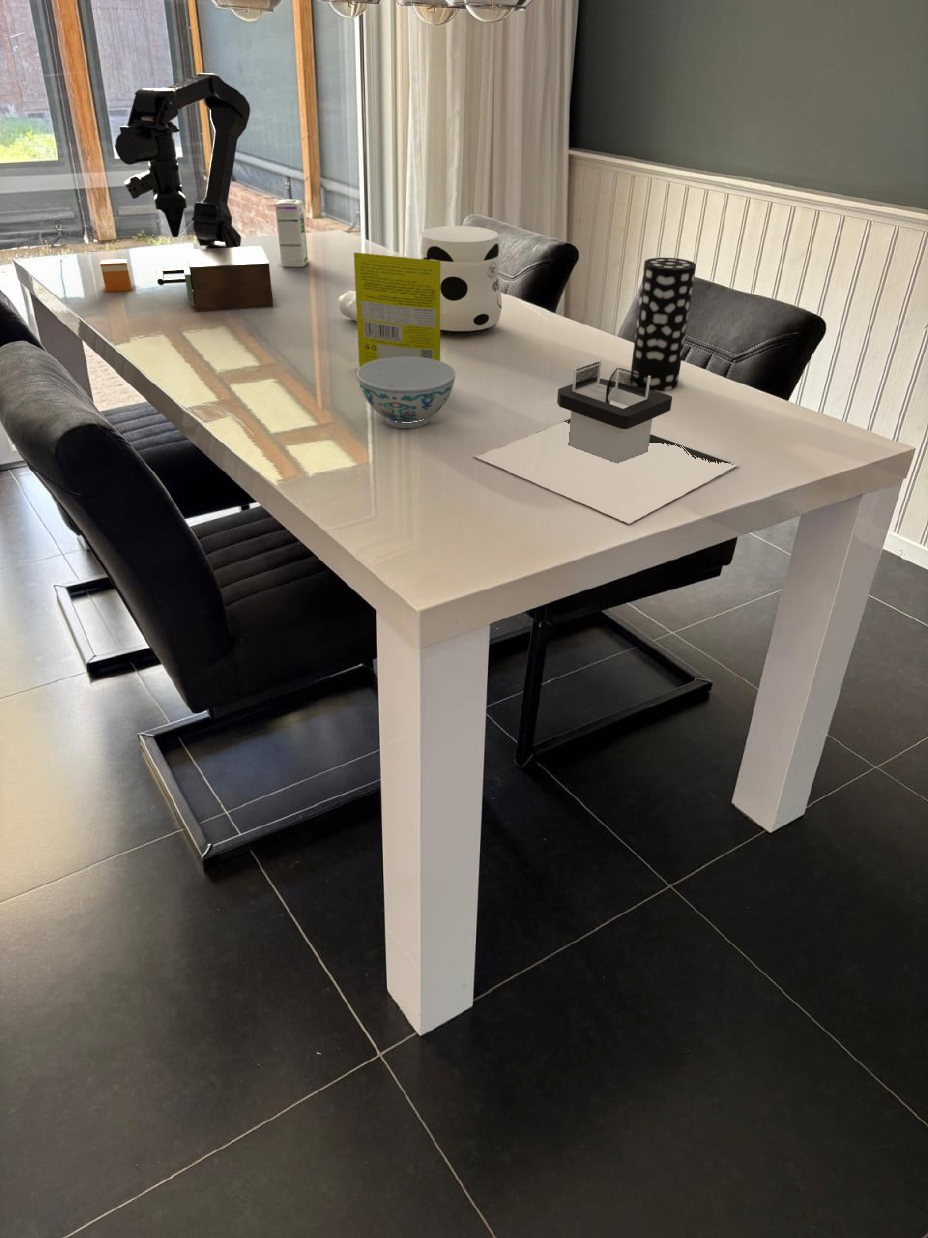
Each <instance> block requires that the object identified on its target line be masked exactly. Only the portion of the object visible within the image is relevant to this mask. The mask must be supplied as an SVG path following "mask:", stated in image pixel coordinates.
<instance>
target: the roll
mask: <svg viewBox="0 0 928 1238" xmlns="http://www.w3.org/2000/svg"><path fill="white" fill-rule="evenodd" d="M337 301H338V303H339V311H340V313H341V314H343V316H345V317H347V318H349V319H351V320H352V321H355V322H356V323H357V308H356V290H349V291H346V292H345V293H344V294H341V295H340V296H339V297H338V300H337Z"/></svg>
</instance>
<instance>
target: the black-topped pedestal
mask: <svg viewBox="0 0 928 1238" xmlns="http://www.w3.org/2000/svg"><path fill="white" fill-rule="evenodd" d="M602 363H603V361H602V360H599V361H597V362H594V363H591V364H588V365H585V366H582V367H578V368H576V367H575V368H573V369H574V370H573V377H572V378H573V381H572V383H571V384H568V385H565V386H562V387H560V388H558V389H557V396H556V397H557V399H556V403H557V406H558V407H559V408H562V409H565V410H567V411H570V418H568V419H566V420H563V421H564V422H567V421H568V422H567V423H568V424H569V423H570V432H569V443H568V445H569V446H572V447H574V448H576V449H579V450H582V451H584V452H587V453H590V454H592V455H595V456H598V457H601V458H603V459H606V460H609V461H610V462H614V463H617V464H618V463H620V462H623V461H626V460H628V459H631V458H634V457H636V456H639V455H642V454H644V453H646V452H648V446H649V443H662V444H664V443H666V444H667V445H668V444H670V445H675V444H676V445H677V446H678V447H680V446H681V447H682V446H683V447H684V448H685V449H686V450H687V451H688V452H689V453H690V454H691V455H692V457H694V458H695V459H696V457H697V458H698V457H699V458H701V459H702V460H704V459H705V461H706V459H707V460H708V462H709V461H710V462H715V463H716V461H717V463H718V464H719V462H720V463H721V462H724V463H729V464H730V463H731V462H730V461H727V460H724V459H721V458H719V457H716V456H713V455H710V454H707V453H704V452H702V451H699V450H697V449H693V448H691V447H687V446H685V445H682V444H679V443H677V442H673V441H672V440H671V441H670V440H668V439H666V438H662V437H660V436H657V435H654V434H652V433H651V432H652V426H653V425H652V424H653V419H655V418H657V417H660V416H661V415H664V414H666V413H669V412H670V411H671V409H672V402H673V396H672V395H670V394H666V393H664V392H662V391H653V390H649V385H650V378H651V376H644V375H641V374H638V373H635V372H631V370H628V369H625V368H622V367H621V366H620V365H619V366H617V368H616V369H615V370H614V371H613V372H612V374H611V375H610V377H609V379H606V378H602V377H601V373H602ZM631 373H634V374H635V375H636V377H634V376H632V375H631ZM638 375H640V376H641V377H642V378H643V379H642V380H641V379H640V378H639V377H638ZM631 376H632V377H633V379H634V380H635V382H636V384H637V385H638V387H637V386H636V385H635V383H634V381H633V379H632V378H631ZM644 377H646V378H647V379H648V380H645V379H644ZM635 378H636V379H635ZM637 378H639V380H640V381H641V383H642V385H643V387H644V388H643V387H642V386H641V384H640V382H639V380H638V379H637ZM630 379H631V380H630ZM636 380H637V381H636ZM644 380H645V381H646V383H647V385H646V384H645V382H644ZM642 381H643V382H642ZM643 383H644V384H643ZM633 384H634V385H633ZM639 385H640V386H639ZM640 387H641V388H640ZM611 401H612V402H615V403H618V404H621V405H624V406H626V407H624V408H622V407H620V406H616V405H614V404H611V403H610V402H611ZM676 445H675V446H676ZM668 446H669V445H668ZM681 447H680V448H681ZM683 447H682V448H683ZM684 448H683V449H684ZM685 449H684V451H686V450H685ZM687 451H686V453H687ZM687 454H688V453H687ZM688 455H689V454H688ZM694 455H695V456H696V457H695V456H694ZM703 458H704V459H703ZM710 462H709V463H710ZM733 464H734V463H733ZM733 464H732V465H733Z"/></svg>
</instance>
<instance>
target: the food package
mask: <svg viewBox="0 0 928 1238" xmlns="http://www.w3.org/2000/svg"><path fill="white" fill-rule="evenodd" d="M353 263H354V264H353V265H354V267H353V268H354V285H355V286H354V287H355V288H354V289H355V291H356V308H357V322H356V324H357V346H358V365H359V366H358V367H359V368H360V367H361V366H363V365H364V364H366V363H369V362H371V361H374V360H378V359H383V358H390V357H422V358H429V359H434V360H438V361H441V333H440V261H434V260H425V259H419V258H414V257H405V256H396V255H383V254H374V253H366V252H365V253H363V252H353ZM359 368H358V369H359Z"/></svg>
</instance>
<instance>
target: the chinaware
mask: <svg viewBox="0 0 928 1238" xmlns="http://www.w3.org/2000/svg"><path fill="white" fill-rule="evenodd" d="M356 377H357V380H358V385H359V387H360V390H361V392H362V395H363V396H364V399H365V400H366V402H367V403H368V404H369V406H370V407H371V408H372V409H373V410H374V411H375V412H376V413H378V414H379V415H381V416H382V417H384V418H385V422H386V423H387V425H389V426H392V427H394V428H395V427H396V428H400V429H413V428H419V427H422V426H424V425H426V424H427V423H428V422H429V418H430V417H432V416H433V415H435V414H436V413H437V412H438V411H439V410H440V409H442V407H443V406H444V405H445V404H446V402H447V401H448V399H449V397H450V395H451V392H452V390H453V387H454V384H455V379H456V371H455V369H454V368H453V367H452V366H451V365H449V364H448V363H446V362H443V361H442V360H440V361H438V360H434V359H429V358H422V357H390V358H383V359H378V360H374V361H371V362H369V363H366V364H364V365H363V366H361V367H360V368H358V369H357V372H356ZM423 419H424V420H423ZM419 420H422V421H419ZM395 421H397V422H395ZM413 421H418V422H413ZM402 422H412V423H402Z"/></svg>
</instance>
